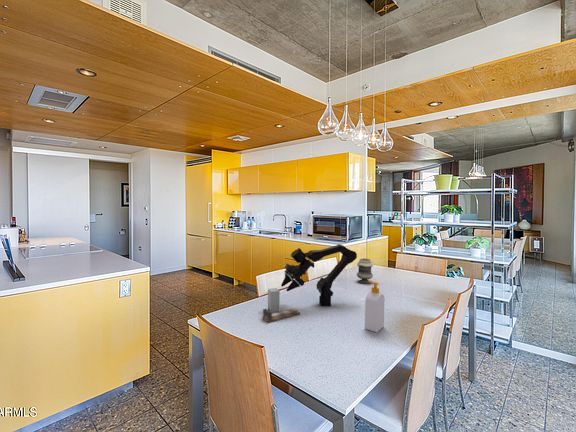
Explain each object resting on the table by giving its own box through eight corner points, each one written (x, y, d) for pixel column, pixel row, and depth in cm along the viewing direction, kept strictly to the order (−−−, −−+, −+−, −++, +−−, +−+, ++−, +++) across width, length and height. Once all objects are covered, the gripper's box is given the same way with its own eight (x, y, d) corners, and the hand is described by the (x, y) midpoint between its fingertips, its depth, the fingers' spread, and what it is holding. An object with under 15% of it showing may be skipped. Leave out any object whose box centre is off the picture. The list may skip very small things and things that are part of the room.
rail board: (292, 310, 164) (293, 301, 163) (300, 314, 158) (300, 305, 158) (262, 318, 152) (262, 308, 152) (269, 322, 146) (269, 313, 146)
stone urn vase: (356, 283, 219) (356, 260, 218) (357, 279, 230) (357, 257, 230) (372, 285, 215) (373, 261, 215) (372, 281, 227) (373, 258, 226)
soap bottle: (370, 322, 148) (371, 278, 147) (383, 326, 143) (385, 281, 142) (362, 328, 141) (364, 282, 140) (376, 333, 136) (378, 285, 135)
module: (276, 308, 166) (276, 288, 165) (279, 312, 160) (279, 291, 160) (267, 309, 164) (267, 288, 164) (270, 313, 159) (270, 291, 158)
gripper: (287, 255, 174) (270, 275, 170) (299, 262, 156) (279, 283, 153) (299, 268, 177) (282, 287, 174) (312, 275, 159) (293, 296, 156)
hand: (284, 288), depth 164 cm, fingers open, 9 cm apart
